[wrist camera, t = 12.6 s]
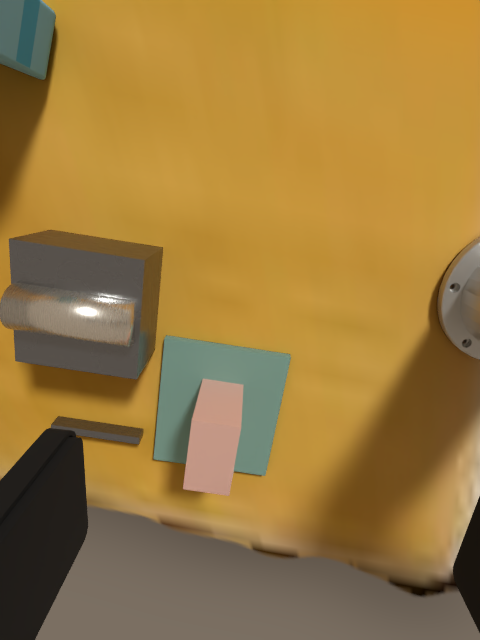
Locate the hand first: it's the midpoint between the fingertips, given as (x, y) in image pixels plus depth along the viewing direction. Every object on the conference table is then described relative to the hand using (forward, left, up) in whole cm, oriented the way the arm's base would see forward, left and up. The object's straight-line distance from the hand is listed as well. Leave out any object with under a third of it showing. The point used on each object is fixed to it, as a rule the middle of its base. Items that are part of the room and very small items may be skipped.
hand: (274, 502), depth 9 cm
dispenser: (+14, +10, -27) cm, 31 cm away
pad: (+2, +15, -27) cm, 30 cm away
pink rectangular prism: (+2, +15, -26) cm, 30 cm away
